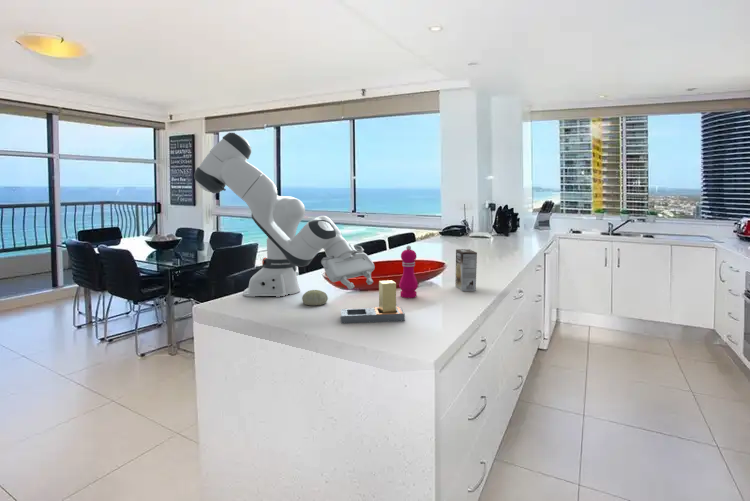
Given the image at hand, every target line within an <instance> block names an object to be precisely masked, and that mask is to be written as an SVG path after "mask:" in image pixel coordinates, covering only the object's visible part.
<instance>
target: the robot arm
mask: <svg viewBox="0 0 750 501" xmlns="http://www.w3.org/2000/svg"><path fill="white" fill-rule="evenodd" d="M211 148H212V149H210V151H209V152H208V154H207V155H206V157H204V159H203V160H202V161H201V164H200V165H199V166H198V167H197V168H196V170H195V171H194V174H193V177H194V178H193V180H195V181H196V183H197V185H198V186H199V187H200V188H201V189H202V190H204V191H206V192H208V193H211V194H219V193H220V192H222V191H223V192H225V191H226V187H228V188H229V189H230V190H231V191H232V192H233V193H234V194H235V195H236V196H238V197H239V198H240V199H241V200H243V202H244V203H246V205H247V206H248V208H249V210H250V211H251V215H250V216H251V220H253V222H254V223H255V224H256V225H257V227H258V228H259V229H260V230H261V231H262V233H264V235H265V236H267V238H266V254H267V257H264V258H263V259H261V260H262V264H261V265H262V268H261V269H259V270H258V271H257V272H256V273H254V274H253V275H252V277H250V279H249V283H248V287H247V288H246V289H244V290H243V293H242V294H243V296H244V297H255V296H276V297H275V298H281V297H280V296H283V297H285V295H286V296H289V295H288V294H290V295H294V294H297V293H299V292H301V289H300V286H299V281H298V277H297V269H298V268H297V267H307V266H309V265H310V264H311V262H312V261H313V260H314V258H315V257H316V256H317V255H318V253H319V252H320V251H322V249H324V252H325V255H326V256H325V257H323V258H322V259H321V261H320V263H321V265H322V266H323V269H324V272H325V274H326V276H327V278H328V279H329V281H330V282H332V283H336V282H340V283H341V284H343V285H344V286H346V287H347V289H348V290H353V289H354V288H355V286H356V285H354V283H353V282H350V280H349V279H354V278H357V277H361V276H363V277H364V278H366V281H365V282H366V283H367V285H372V284H373V283H374V280H373V279H372V272H374V270H375V267H376V266H375V263H374V262H373V261H372V259H371V257H370V256H369V255H368V254H367V253H365V252H364V251H365V249H364V248H363V247H362V246H361V245H356V244H352V243H349V242H348V241H347V240H346V239H345V238H344V236H343V234H342V231H341V230H340V228H338V226H337V225H336V223H334V221H333V220H332V219H330V218H329V217H328V216H327V215H320V216H317V217H315V218H314V219H310V220H309V221H307V223H305V224H304V226H303V227H302V228H301V229H300V231H299V232H298V233H297V230H298V226H299V225H300V223H301V222H302V221H303V219H304V217H305V215H306V206H305V205H304V203H303V201H301V199H299V198H296V197H293V196H284V195H282V196H281V195H278V190H277V189H278V188H277V186H276V184H275V183H274V181H273V180H272V179H270V177H269V176H267V175H266V174H265V173H264V172H263V171H261V170H260V169H259V168H257V167H256V166H254V165H253V164H251V163H249V162H248V161H247V160H249V158H250V156H251V155H252V154H253V152H252V147H251V145H250V143H249V141H248V139H246V138H245V137H244V136H242V135H240V134H238V133H235V132H228V133H226V134H225V135H224V136H222V139H220V141H218V143H216V144H215V145H214V146H213V147H211ZM296 233H297V234H296Z"/></svg>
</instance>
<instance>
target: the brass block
mask: <svg viewBox="0 0 750 501" xmlns="http://www.w3.org/2000/svg"><path fill="white" fill-rule="evenodd" d="M378 301H379V302H378V307H379V313H396V307H397V282H395V281H394V280H392V279H391V280H389V279H387V280H379V281H378Z"/></svg>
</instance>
